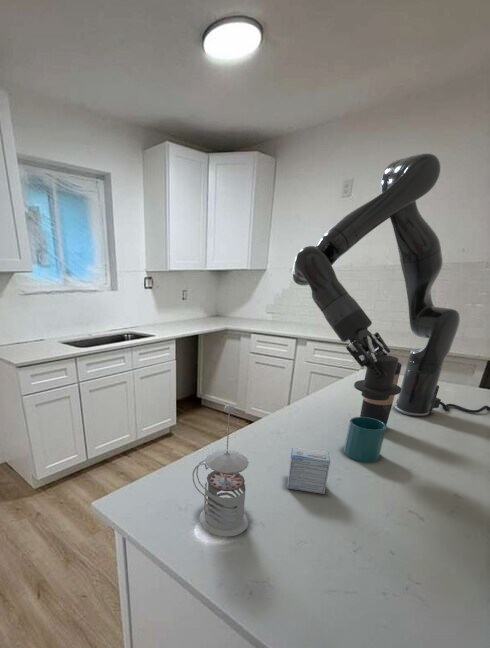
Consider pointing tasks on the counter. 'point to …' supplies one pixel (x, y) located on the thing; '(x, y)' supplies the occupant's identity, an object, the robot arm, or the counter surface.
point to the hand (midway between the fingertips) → (388, 374)
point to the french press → (224, 512)
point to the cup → (364, 439)
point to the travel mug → (380, 404)
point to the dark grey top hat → (383, 386)
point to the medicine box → (308, 470)
